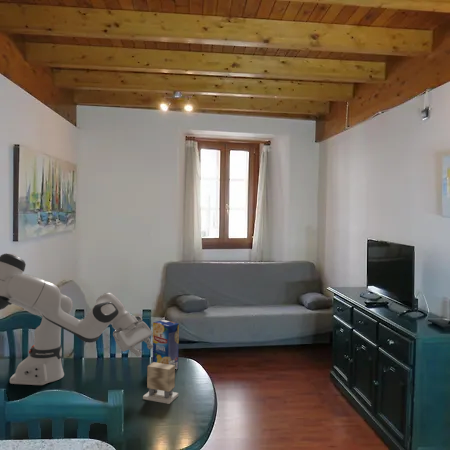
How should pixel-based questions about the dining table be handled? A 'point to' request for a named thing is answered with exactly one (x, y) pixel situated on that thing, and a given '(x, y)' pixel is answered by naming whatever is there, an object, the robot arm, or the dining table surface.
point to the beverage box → (165, 342)
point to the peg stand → (160, 396)
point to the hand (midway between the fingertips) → (145, 351)
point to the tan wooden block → (161, 376)
